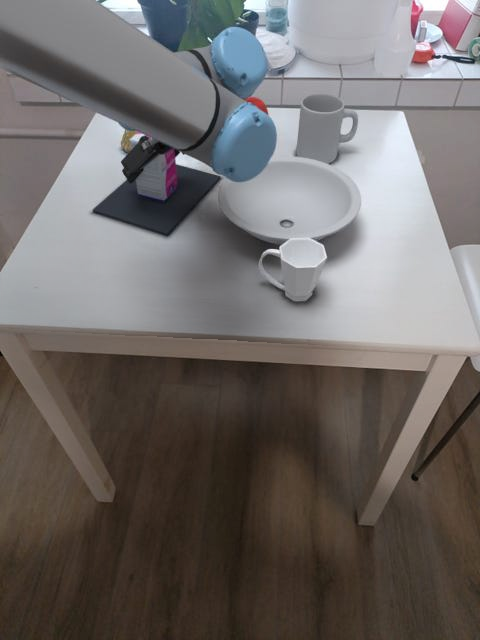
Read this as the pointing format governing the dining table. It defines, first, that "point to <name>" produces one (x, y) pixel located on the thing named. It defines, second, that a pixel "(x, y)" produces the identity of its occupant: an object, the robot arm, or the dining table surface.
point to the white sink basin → (291, 200)
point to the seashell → (127, 140)
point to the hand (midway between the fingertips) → (145, 168)
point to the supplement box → (157, 175)
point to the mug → (323, 127)
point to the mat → (155, 213)
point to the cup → (298, 267)
